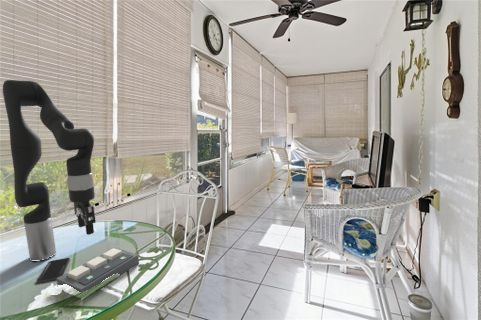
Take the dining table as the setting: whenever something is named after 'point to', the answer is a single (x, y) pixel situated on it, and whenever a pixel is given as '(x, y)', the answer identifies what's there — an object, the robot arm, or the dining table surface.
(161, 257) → the dining table surface
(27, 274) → the dining table surface
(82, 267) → the key
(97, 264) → the key
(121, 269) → the keypad
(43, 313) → the dining table surface
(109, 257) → the key
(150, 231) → the dining table surface
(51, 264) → the phone
